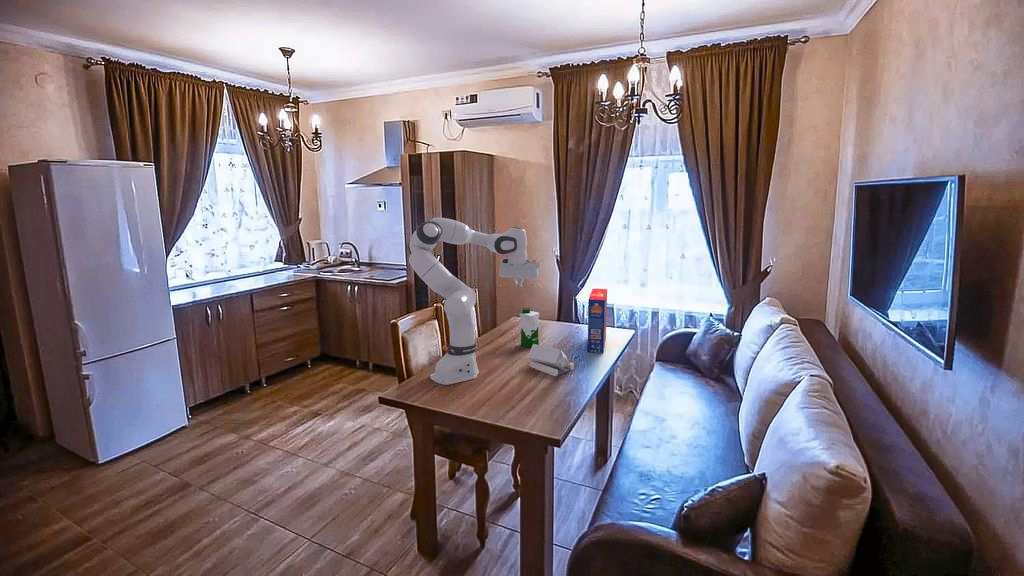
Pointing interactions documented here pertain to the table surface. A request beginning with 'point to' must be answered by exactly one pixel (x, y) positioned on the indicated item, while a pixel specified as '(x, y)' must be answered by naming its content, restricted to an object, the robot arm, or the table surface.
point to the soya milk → (529, 328)
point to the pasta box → (597, 320)
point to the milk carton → (548, 356)
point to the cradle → (551, 368)
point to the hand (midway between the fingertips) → (518, 286)
